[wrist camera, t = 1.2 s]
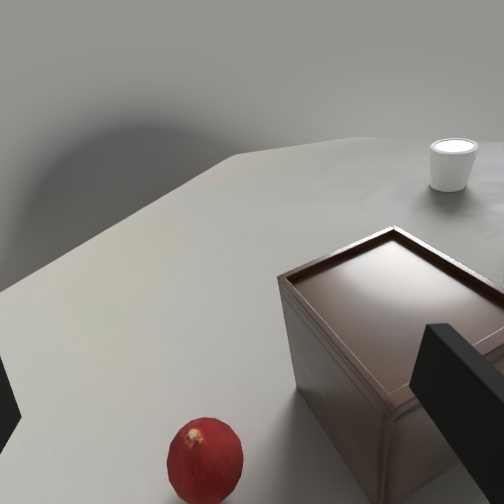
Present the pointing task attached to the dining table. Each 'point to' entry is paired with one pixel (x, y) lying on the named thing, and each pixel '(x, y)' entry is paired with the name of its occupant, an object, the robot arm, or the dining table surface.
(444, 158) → the shot glass
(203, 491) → the onion
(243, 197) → the dining table surface
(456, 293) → the box
